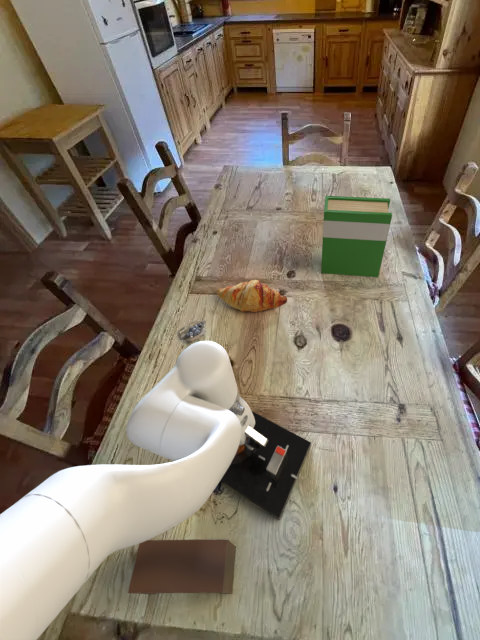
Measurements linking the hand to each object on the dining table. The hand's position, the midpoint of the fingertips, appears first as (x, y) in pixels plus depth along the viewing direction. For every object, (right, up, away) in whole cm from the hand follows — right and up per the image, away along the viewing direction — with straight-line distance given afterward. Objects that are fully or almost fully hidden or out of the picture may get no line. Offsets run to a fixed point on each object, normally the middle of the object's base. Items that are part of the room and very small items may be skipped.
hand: (231, 436), depth 67 cm
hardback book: (+31, +32, +42) cm, 61 cm away
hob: (+5, -6, +4) cm, 9 cm away
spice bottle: (0, -3, +3) cm, 4 cm away
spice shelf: (-5, -19, -8) cm, 21 cm away
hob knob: (+9, -6, 0) cm, 11 cm away
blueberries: (-15, +15, +27) cm, 34 cm away
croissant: (+1, +22, +33) cm, 40 cm away
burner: (0, -3, +4) cm, 5 cm away
